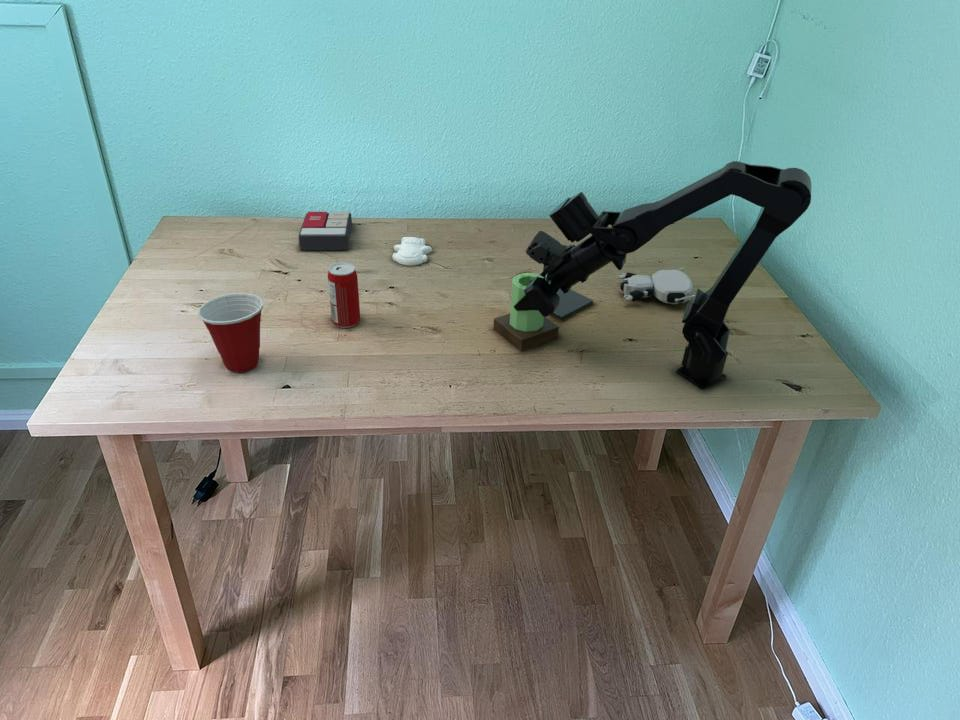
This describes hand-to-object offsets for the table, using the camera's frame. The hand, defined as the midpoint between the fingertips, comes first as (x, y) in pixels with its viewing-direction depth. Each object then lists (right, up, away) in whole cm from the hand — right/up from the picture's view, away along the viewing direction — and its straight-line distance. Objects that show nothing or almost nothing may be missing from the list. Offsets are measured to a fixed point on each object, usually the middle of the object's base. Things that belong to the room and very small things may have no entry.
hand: (521, 300), depth 134 cm
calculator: (-45, +18, +36) cm, 60 cm away
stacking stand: (+1, -6, +4) cm, 7 cm away
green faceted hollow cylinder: (+1, -4, +2) cm, 5 cm away
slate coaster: (+9, +1, +14) cm, 16 cm away
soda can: (-34, -4, +5) cm, 35 cm away
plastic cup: (-50, -12, -8) cm, 52 cm away
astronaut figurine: (-24, +13, +30) cm, 41 cm away
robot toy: (+29, +2, +17) cm, 34 cm away
